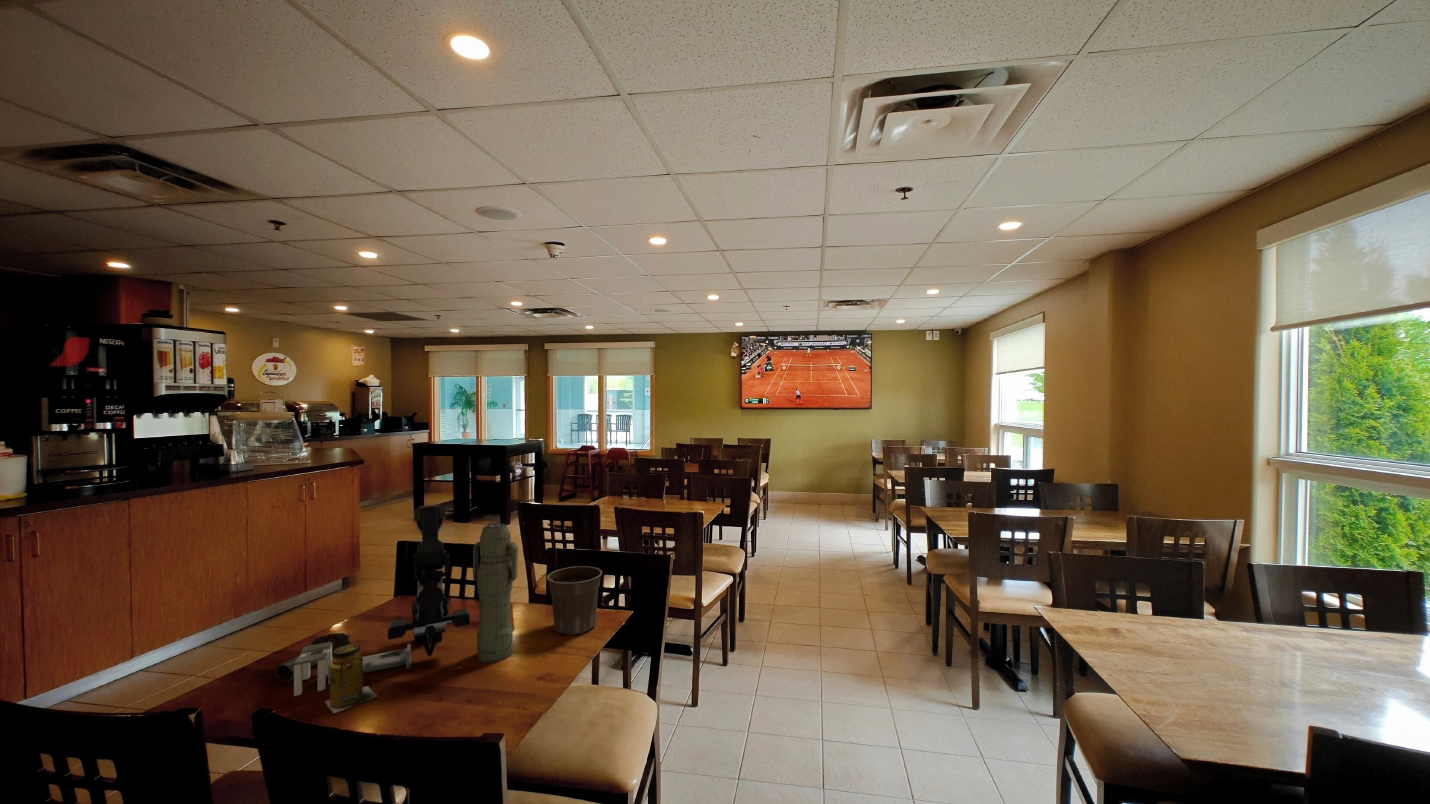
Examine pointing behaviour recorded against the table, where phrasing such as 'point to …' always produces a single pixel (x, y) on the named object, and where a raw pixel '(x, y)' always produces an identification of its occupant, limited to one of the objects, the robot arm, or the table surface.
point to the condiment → (347, 679)
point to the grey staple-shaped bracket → (305, 661)
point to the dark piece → (287, 669)
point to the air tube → (384, 660)
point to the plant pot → (574, 598)
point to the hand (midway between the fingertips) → (429, 655)
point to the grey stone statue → (494, 592)
